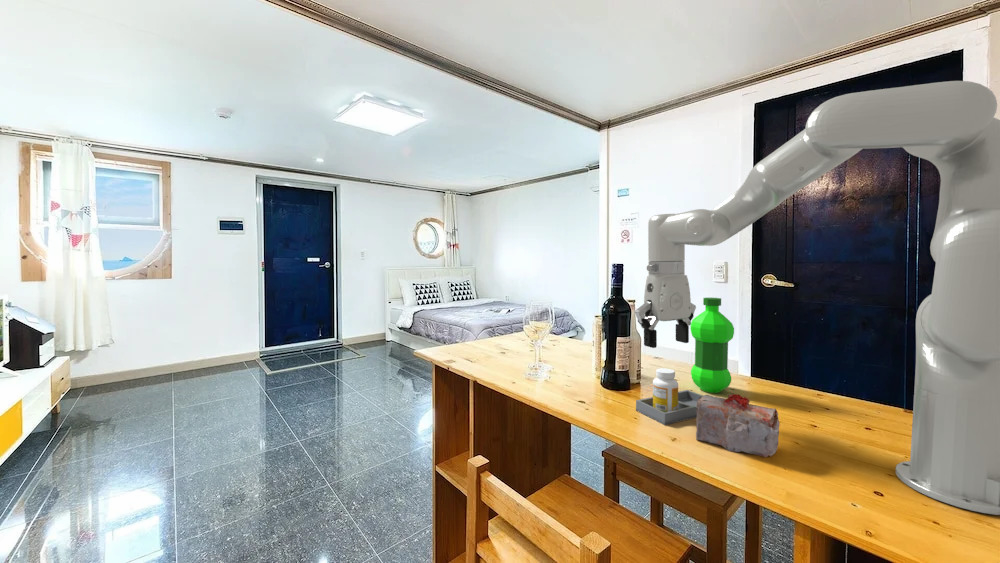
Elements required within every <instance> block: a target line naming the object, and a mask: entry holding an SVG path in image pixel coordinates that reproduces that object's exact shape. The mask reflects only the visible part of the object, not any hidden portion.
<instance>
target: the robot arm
mask: <svg viewBox="0 0 1000 563" xmlns="http://www.w3.org/2000/svg"><path fill="white" fill-rule="evenodd" d="M997 108H998V100H997V97H996V95H995V93H994V91H992V90H991V89H990V88H988V87H987V86H985V85H983V84H981V83H979V82H973V81H966V80H949V81H941V82H940V81H938V82H930V83H923V84H914V85H905V86H899V87H890V88H883V89H882V88H880V89H875V90H874V89H873V90H866V91H860V92H859V91H858V92H851V93H845V94H842V95H838V96H835V97H832V98H830V99H828V100H826V101H824V102H823V103H821V104H819V106H817V107H816V108H815V109H814V110H813V111H812V112H811V114H810V115H809V116H808V118H807V121H806V123H805V128H804V129H803V130H801V131H800V132H799V133H798V134H796V135H795V136H793V137H792V138H791V139H789V140H788V141H786V142H785V143H784V144H782V145H781V146H780V147H778V148H777V149H775V150H774V151H773V152H771V153H770V154H768V155H767V156H766V157H764V158H763V159H761V160H760V161H758V162H757V163H756V164H755V165H754V166H753V168H751V170H750V171H749V173H748V175H747V177H746V179H744V180H745V181H744V182H743V183H742V185H741V186H740V187H739V188H737V190H736V191H735V192H734V193H732V194H731V195H730V196H729V197H728V198H727V199H725V200H723V201H722V202H720V203H719V204H717V205H716V207H714V208H712V209H711V210H710V209H704V208H699V209H698V208H697V209H691V210H688V211H683V212H680V213H663V214H655V215H653V216H651V217H650V218H649V220H648V223H647V224H648V225H647V229H648V230H647V232H648V234H647V235H648V236H647V238H648V240H647V241H648V244H647V245H648V246H647V247H648V254H647V255H648V259H647V260H648V264H647V266H646V271H647V272H648V275H647V277H646V282H645V287H644V298H643V304H642V305H641V306H639V307H638V308H636V309H635V310H634V314H635V316H636V319H637V322H638V323H639V325H640V327H641V328H642V329H643V345H644V346H645V347H648V348H652V349H657V345H658V344H657V340H658V339H657V333H658V332H657V329H655V328H656V327H657V325H658V323H659V322H672V321H676V324H675V341H677V342H680V343H682V344H688V343H689V342H690V340H689V339H690V332H689V331H690V327H691V322H692V320H693V319H694V318H695V316H694V314H695V311H696V310H697V306H696V304H694V303H692V301H691V300H692V299H691V288H690V283H689V279H688V275H686V273H685V267H686V266H685V264H686V263H685V260H686V259H685V252H686V249H685V245H690V246H696V247H697V246H701V247H702V246H703V247H704V246H706V247H710V246H711V247H712V246H713V247H714V246H717V245H719V244H722V243H723V242H725V241H727V240H729V239H730V238H732V237H734V236H735V235H737V234H739V233H740V232H741V231H743V230H745V229H746V228H747V227H749V226H750V225H752V224H754V223H755V222H757V220H760V218H762V217H763V216H765V215H766V214H767V213H769V212H770V211H772V210H773V209H775V208H776V207H778V206H780V204H782V202H784V201H785V200H787V199H788V198H790V197H791V196H793V195H794V194H796V193H797V192H799V191H801V190H802V189H804V188H805V187H806V186H808V185H810V184H811V183H813V182H815V181H816V180H818V179H819V178H821V177H822V176H824V175H825V174H827V173H828V172H830V171H832V170H834V169H835V168H837V167H838V166H839V165H841V164H843V163H845V162H846V161H847V160H848V159H851V158H852V157H853V156H855V155H856V154H857V153H859V152H860V151H862V150H863V149H865V150H866V149H867V150H869V149H890V148H892V149H893V148H902V149H904V150H905V152H907V153H908V154H910V155H912V156H914V157H917V158H920V159H923V160H927V161H929V162H930V163H931V164H933V165H934V166H935V168H936V169H937V170H938V173H939V175H940V176H939V177H940V186H939V198H938V199H939V200H938V207H937V208H938V209H937V213H936V220H935V226H934V231H933V235H932V238H931V241H930V246H929V250H930V255H931V257H932V259H933V261H934V262H935V267H934V275H933V280H932V281H933V282H932V288H931V294H929V295H927V296H926V297H925V298H924V299H923V300H922V302H921V303H920V305H919V306H918V309H917V312H916V318H915V370H914V371H915V375H914V387H913V388H914V390H913V391H914V392H913V393H914V394H913V404H912V405H913V407H912V408H913V410H912V423H911V424H912V425H911V427H912V428H911V439H910V440H911V442H910V460H906V461H905V460H904V461H901V462H899V463H897V464H896V466H895V475H896V477H897V478H898V479H900V481H901V482H903V483H904V484H905V485H907V487H910V488H911V489H912V490H915V491H916V492H919V493H920V494H923V495H925V496H926V497H929V498H932V499H934V500H937V501H939V502H942V503H945V504H947V505H951V506H954V507H957V508H960V509H965V510H968V511H972V512H976V513H982V514H986V515H987V514H988V515H995V516H1000V119H998V118H996V117H995V116H996V114H997Z"/></svg>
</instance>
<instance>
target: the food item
mask: <svg viewBox="0 0 1000 563" xmlns="http://www.w3.org/2000/svg"><path fill="white" fill-rule="evenodd" d="M778 412H779V411H778V410H777V408H770V407H768V406H767V407H765V406H760V405H757V404H751V403H750V399H749V398H748V397H746V396H744V397H743V396H741V395H740V394H732V393H731V394H728V396H727V398H725V397H720V396H714V395H709V394H705V395H704V394H703V396H701V397H700V398H699V400H698V402H697V417H696V423H695V424H696V430H695V437H696V440H697V441H701V442H706V443H709V444H713V445H717V446H722V447H723V448H724V449H725V450H726V451H729V452H736V453H740V452H743V453H746V454H750V455H755V456H759V457H764V458H767V457H769V456H770V457H772V456H773V455H775V454H776V452H777V450H778V447H779V442H780V441H779V435H780V425H781V424H780V419H779V413H778Z"/></svg>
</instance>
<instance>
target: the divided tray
mask: <svg viewBox="0 0 1000 563" xmlns="http://www.w3.org/2000/svg"><path fill="white" fill-rule="evenodd" d="M701 396H704V394H703V395H702V394H700V393H697V392H695V391H692V390H690V389H685V390H684V389H683V390H681V391H679V390H678V410H673V411H669V412H663V411H661V410H658V409H656V408H654V407H653V396H651V397H650V396H649V397H646V398H641V399H637V400H635V411H636V412H638V411H639V412H638V413H640V414H642V415H644V416H646V415H647V416H646V417H648V416H649V417H648V418H650V419H651V420H653V421H655V420H656V422H658V423H659V424H662V425H664V426H667V425H671V424H675V423H680V422H683V421H687V420H690V419H695V418H696V419H697V402H698V400H699V398H700V397H701Z"/></svg>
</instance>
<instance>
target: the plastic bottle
mask: <svg viewBox="0 0 1000 563" xmlns="http://www.w3.org/2000/svg"><path fill="white" fill-rule="evenodd" d="M702 299H703V301H702V302H703V303H702V304H703V306H705V310H703V311H702V312H700V314H698V315H697V316H695V317H693V318H692V320H691V325H690V327H689V330H690V333H691V336H692V337H693V338H694V340H695V343H694V346H695V348H694V364H693V366H692V367H691V370H690V375H691V379H692V382H693V383H694V385H695V386H696V387H698V388H699V389H700V390H701V391H704V392H707V393H712V394H713V393H715V394H716V393H717V394H718V393H721V392H722V391H723V390H725V389H727V388H729V386H730V385H731V383H732V375H731V373H730V371H729V368H728V366H729V365H728V362H729V361H728V360H729V358H728V356H729V342H730V341H732V339H734V335H735V327H734V324H733V323H732V322H731V321H730V320H729V319H728V318H727V317H726V316H725V315H724V314H723V313H721V312H720V311H719V310H720V307H721V306H722V298H721V297H703V298H702Z"/></svg>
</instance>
